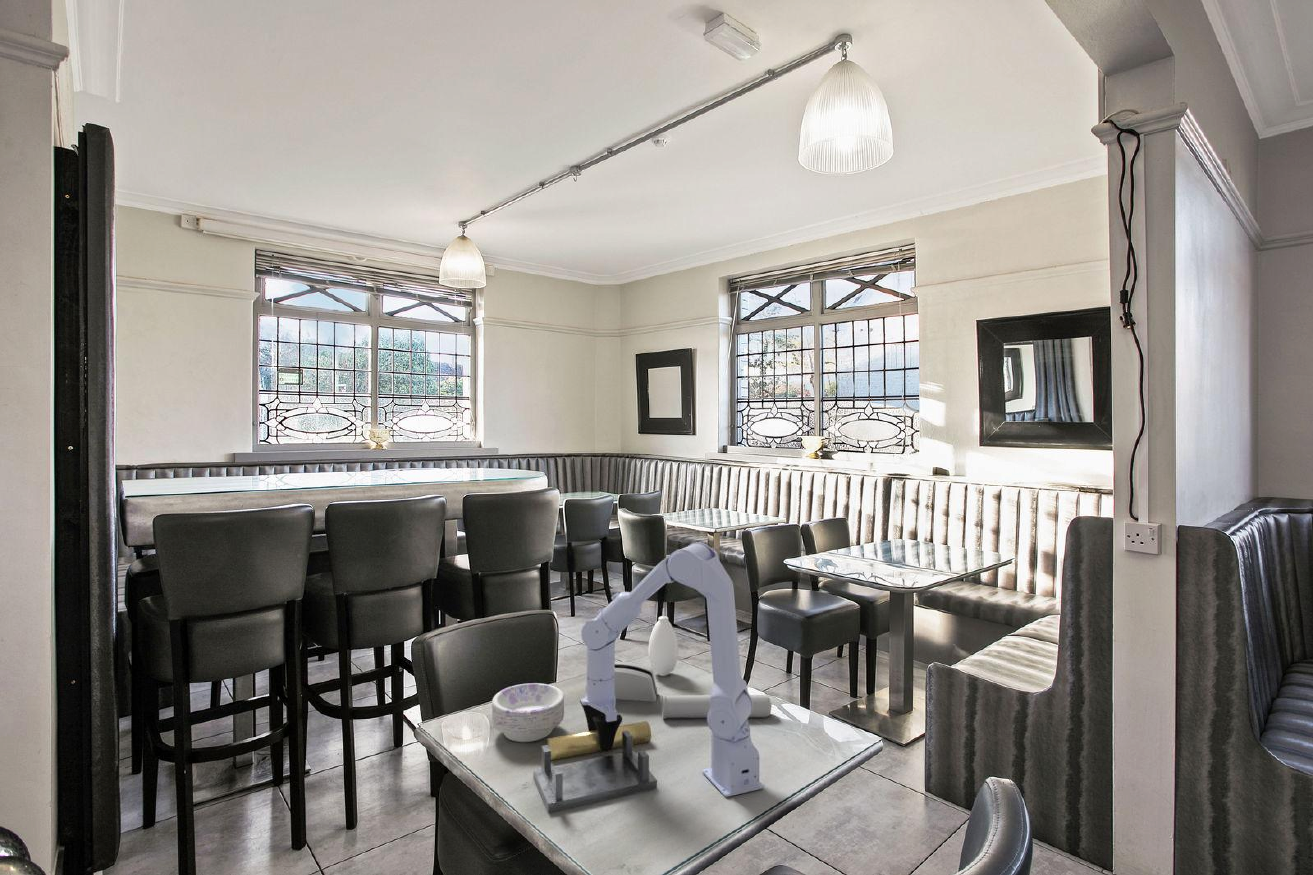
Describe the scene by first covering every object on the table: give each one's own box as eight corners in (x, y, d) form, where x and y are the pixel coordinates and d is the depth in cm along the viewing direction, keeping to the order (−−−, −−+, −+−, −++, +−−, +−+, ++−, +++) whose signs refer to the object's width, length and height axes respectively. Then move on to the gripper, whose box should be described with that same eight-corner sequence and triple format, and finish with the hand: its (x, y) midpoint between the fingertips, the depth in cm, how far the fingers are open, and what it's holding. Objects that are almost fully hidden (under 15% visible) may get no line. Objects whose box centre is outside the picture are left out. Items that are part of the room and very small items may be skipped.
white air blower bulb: (644, 671, 178) (644, 604, 178) (671, 668, 181) (671, 602, 181) (654, 681, 171) (654, 612, 171) (682, 678, 174) (682, 609, 174)
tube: (768, 693, 155) (661, 693, 154) (773, 694, 150) (663, 695, 149) (769, 717, 153) (661, 718, 152) (774, 720, 148) (663, 720, 147)
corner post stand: (657, 788, 120) (657, 755, 120) (548, 812, 113) (548, 777, 112) (633, 758, 131) (633, 728, 131) (533, 778, 124) (533, 746, 124)
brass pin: (644, 739, 141) (643, 719, 141) (651, 743, 137) (650, 723, 138) (547, 757, 133) (546, 736, 133) (551, 762, 129) (551, 740, 130)
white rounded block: (658, 693, 164) (656, 660, 160) (656, 707, 159) (654, 673, 156) (593, 689, 166) (589, 656, 163) (588, 702, 162) (585, 669, 158)
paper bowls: (509, 757, 132) (509, 717, 132) (481, 729, 144) (481, 692, 144) (577, 736, 141) (577, 699, 141) (544, 711, 153) (544, 677, 153)
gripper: (572, 666, 140) (571, 730, 140) (592, 691, 127) (591, 762, 127) (603, 662, 143) (603, 725, 143) (626, 686, 129) (626, 755, 129)
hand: (600, 742), depth 135 cm, fingers open, 7 cm apart
